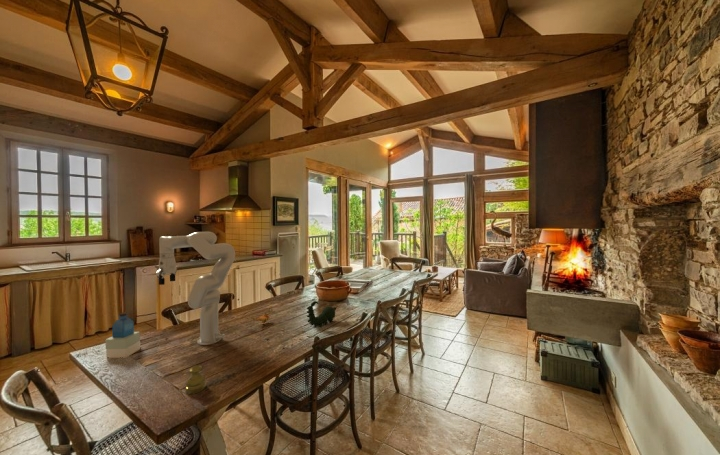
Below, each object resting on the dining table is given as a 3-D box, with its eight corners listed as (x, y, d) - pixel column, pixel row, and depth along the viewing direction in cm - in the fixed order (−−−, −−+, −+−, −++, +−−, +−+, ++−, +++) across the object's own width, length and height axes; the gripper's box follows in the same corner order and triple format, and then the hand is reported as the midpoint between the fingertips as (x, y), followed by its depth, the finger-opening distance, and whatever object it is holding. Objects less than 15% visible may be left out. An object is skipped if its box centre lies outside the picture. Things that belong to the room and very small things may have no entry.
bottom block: (140, 349, 155) (140, 340, 155) (125, 358, 145) (125, 348, 145) (122, 349, 155) (122, 340, 155) (106, 358, 145) (106, 348, 145)
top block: (139, 340, 155) (139, 331, 155) (125, 348, 145) (125, 339, 145) (121, 340, 155) (121, 331, 155) (105, 349, 145) (105, 339, 145)
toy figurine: (314, 333, 182) (341, 320, 200) (312, 305, 180) (340, 294, 198) (305, 329, 188) (332, 316, 207) (303, 302, 187) (331, 292, 205)
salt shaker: (181, 392, 117) (181, 368, 116) (197, 382, 124) (197, 360, 123) (194, 396, 114) (193, 372, 114) (209, 386, 121) (209, 363, 121)
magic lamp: (248, 327, 187) (247, 311, 186) (269, 319, 202) (269, 304, 202) (254, 329, 183) (254, 313, 183) (275, 321, 199) (275, 305, 199)
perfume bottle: (123, 337, 147) (123, 315, 147) (112, 337, 147) (112, 315, 147) (133, 333, 153) (133, 311, 153) (123, 332, 153) (122, 311, 153)
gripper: (163, 257, 166) (163, 286, 167) (181, 254, 183) (182, 279, 184) (150, 257, 166) (151, 286, 167) (170, 254, 184) (170, 279, 184)
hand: (167, 282), depth 175 cm, fingers open, 9 cm apart
